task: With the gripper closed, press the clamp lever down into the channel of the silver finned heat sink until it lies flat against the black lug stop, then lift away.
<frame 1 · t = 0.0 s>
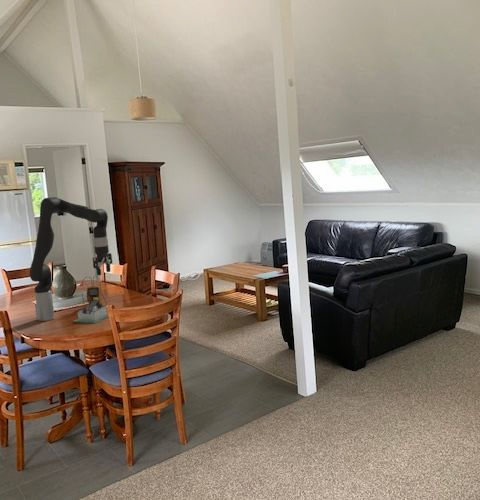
hand: (103, 273, 279), 29 cm above the table, tool pointing down, fingers open, 8 cm apart
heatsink: (94, 317, 296), on the table
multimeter: (94, 307, 320), on the table
clamp lever: (91, 305, 294), point 8 cm above the table, hinge at -30.0°
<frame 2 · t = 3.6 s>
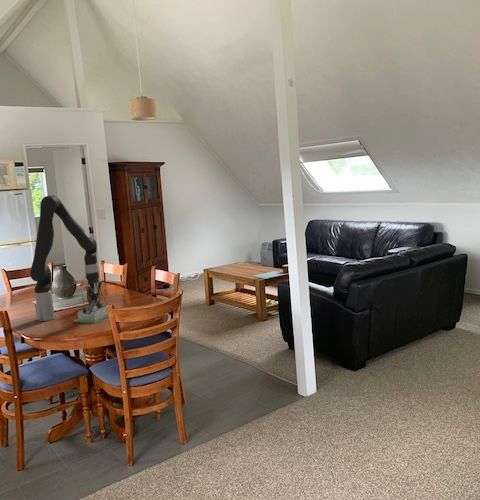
hand: (95, 299, 297), 11 cm above the table, tool pointing down, fingers closed
clamp lever: (92, 305, 294), point 8 cm above the table, hinge at -27.9°, touching gripper
everything else where it was.
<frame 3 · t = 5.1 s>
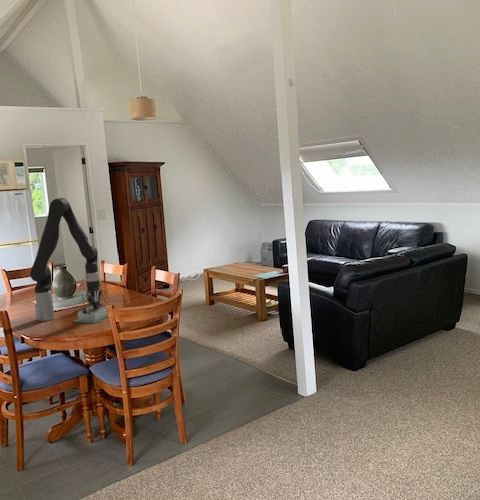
hand: (95, 307, 297), 6 cm above the table, tool pointing down, fingers closed
clamp lever: (93, 309, 295), point 5 cm above the table, hinge at 0.7°
everything else where it was.
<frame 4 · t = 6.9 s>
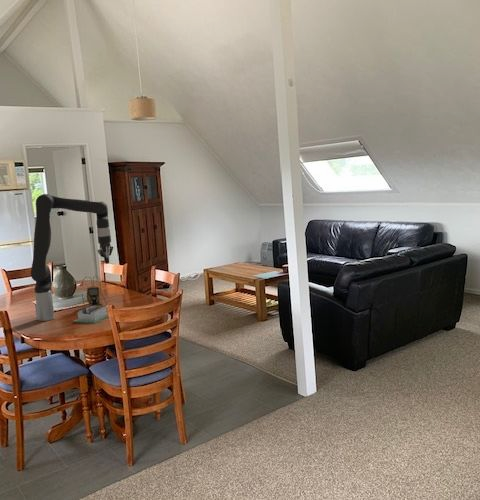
hand: (107, 263, 301), 31 cm above the table, tool pointing down, fingers closed
nothing on the table moved.
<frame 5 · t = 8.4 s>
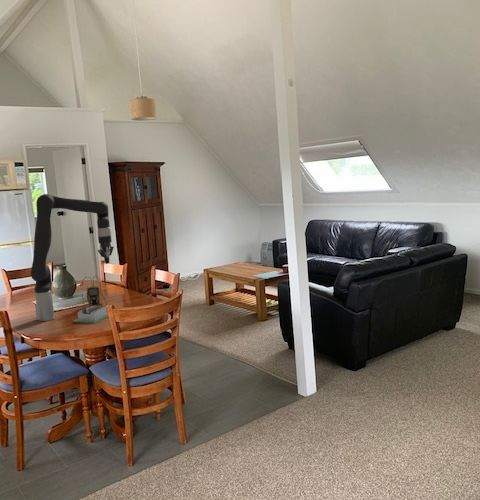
hand: (107, 263, 301), 31 cm above the table, tool pointing down, fingers closed
nothing on the table moved.
at the end: clamp lever at +1° (first picture: -30°) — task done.
